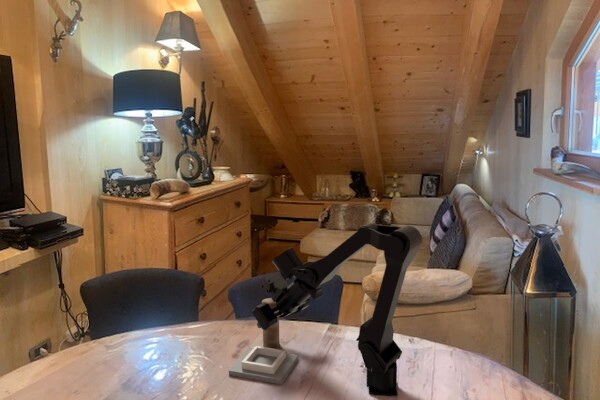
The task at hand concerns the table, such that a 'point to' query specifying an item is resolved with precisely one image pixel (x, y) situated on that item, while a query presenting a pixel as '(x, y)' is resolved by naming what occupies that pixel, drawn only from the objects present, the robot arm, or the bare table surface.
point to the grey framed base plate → (264, 365)
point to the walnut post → (271, 330)
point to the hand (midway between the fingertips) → (267, 321)
